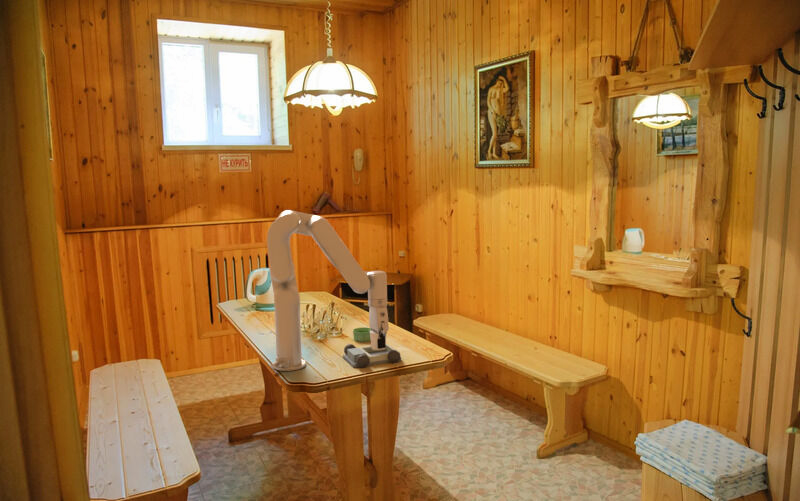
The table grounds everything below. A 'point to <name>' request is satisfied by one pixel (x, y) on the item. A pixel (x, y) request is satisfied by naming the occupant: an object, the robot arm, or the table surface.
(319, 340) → the table surface
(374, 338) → the pale pink cup
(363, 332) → the ramekin
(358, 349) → the chassis
